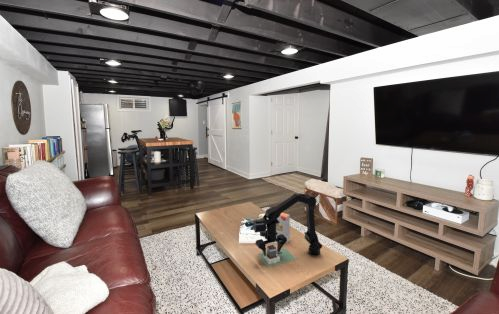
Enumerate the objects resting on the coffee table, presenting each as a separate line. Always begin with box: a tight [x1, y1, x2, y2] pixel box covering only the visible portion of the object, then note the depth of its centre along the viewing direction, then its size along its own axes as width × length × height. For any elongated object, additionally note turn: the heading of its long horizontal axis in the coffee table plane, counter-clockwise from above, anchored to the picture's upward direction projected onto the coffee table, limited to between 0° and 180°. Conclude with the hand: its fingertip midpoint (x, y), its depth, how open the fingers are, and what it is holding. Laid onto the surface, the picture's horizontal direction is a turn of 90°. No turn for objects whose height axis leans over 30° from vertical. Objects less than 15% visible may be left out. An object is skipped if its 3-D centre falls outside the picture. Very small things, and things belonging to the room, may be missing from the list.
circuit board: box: [257, 247, 297, 268], centre depth 146 cm, size 20×14×4 cm
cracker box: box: [276, 212, 291, 245], centre depth 166 cm, size 14×6×21 cm, turn 51°
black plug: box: [266, 244, 277, 259], centre depth 143 cm, size 4×4×8 cm
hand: (271, 254), depth 144 cm, fingers open, 9 cm apart
